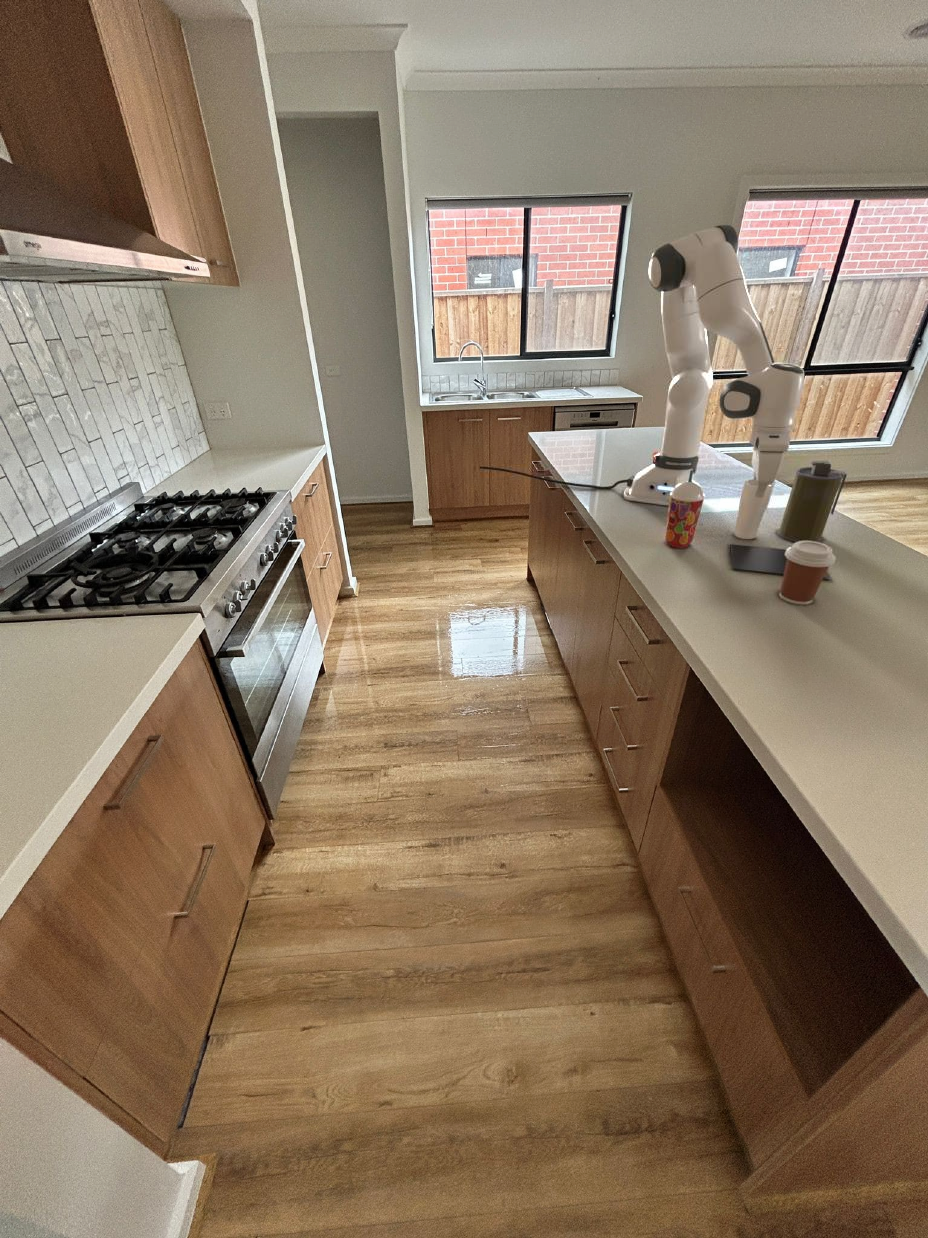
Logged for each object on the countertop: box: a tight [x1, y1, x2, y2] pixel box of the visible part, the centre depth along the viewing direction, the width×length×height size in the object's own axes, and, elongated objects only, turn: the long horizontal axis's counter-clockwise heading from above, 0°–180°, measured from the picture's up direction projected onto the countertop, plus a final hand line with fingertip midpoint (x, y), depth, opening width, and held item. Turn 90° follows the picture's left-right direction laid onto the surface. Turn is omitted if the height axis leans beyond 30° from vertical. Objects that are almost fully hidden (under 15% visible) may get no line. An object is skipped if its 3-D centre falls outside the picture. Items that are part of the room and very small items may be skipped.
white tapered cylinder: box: [733, 478, 774, 540], centre depth 137 cm, size 7×7×15 cm
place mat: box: [729, 543, 830, 581], centre depth 127 cm, size 20×15×1 cm
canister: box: [777, 460, 848, 543], centre depth 134 cm, size 11×10×20 cm
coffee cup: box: [778, 541, 837, 605], centre depth 109 cm, size 9×9×12 cm
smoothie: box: [664, 470, 706, 549], centre depth 133 cm, size 8×8×20 cm
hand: (757, 490), depth 134 cm, fingers open, 8 cm apart
